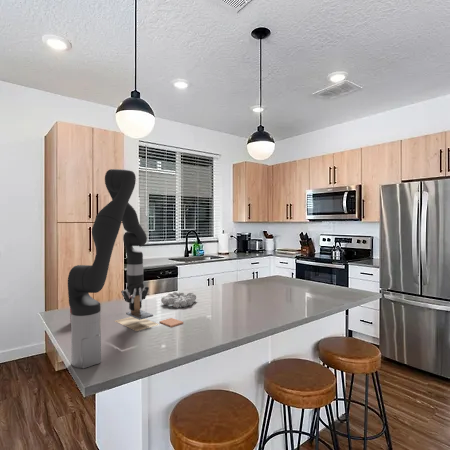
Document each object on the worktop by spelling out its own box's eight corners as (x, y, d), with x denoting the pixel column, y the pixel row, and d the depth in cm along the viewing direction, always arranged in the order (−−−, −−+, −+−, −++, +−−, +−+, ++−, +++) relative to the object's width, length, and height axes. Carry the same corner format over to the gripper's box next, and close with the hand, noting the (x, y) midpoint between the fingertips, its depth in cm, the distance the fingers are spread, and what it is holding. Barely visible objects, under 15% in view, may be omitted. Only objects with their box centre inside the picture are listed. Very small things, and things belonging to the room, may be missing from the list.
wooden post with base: (126, 314, 148) (125, 295, 148) (139, 311, 153) (139, 293, 153) (139, 319, 140) (139, 300, 140) (153, 316, 145) (153, 297, 145)
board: (159, 325, 146) (159, 324, 146) (136, 332, 137) (136, 331, 137) (136, 316, 159) (136, 315, 159) (114, 322, 151) (114, 320, 151)
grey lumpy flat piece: (158, 300, 192) (158, 290, 192) (191, 297, 199) (191, 288, 199) (164, 310, 171) (164, 300, 171) (201, 307, 179) (201, 297, 179)
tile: (171, 321, 153) (183, 325, 147) (159, 325, 148) (171, 329, 142) (171, 317, 153) (183, 321, 147) (159, 321, 148) (171, 325, 142)
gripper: (125, 276, 141) (125, 314, 141) (152, 272, 151) (152, 308, 151) (117, 274, 146) (117, 311, 146) (143, 270, 156) (144, 305, 157)
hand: (135, 309), depth 149 cm, fingers closed on wooden post with base, 3 cm apart
